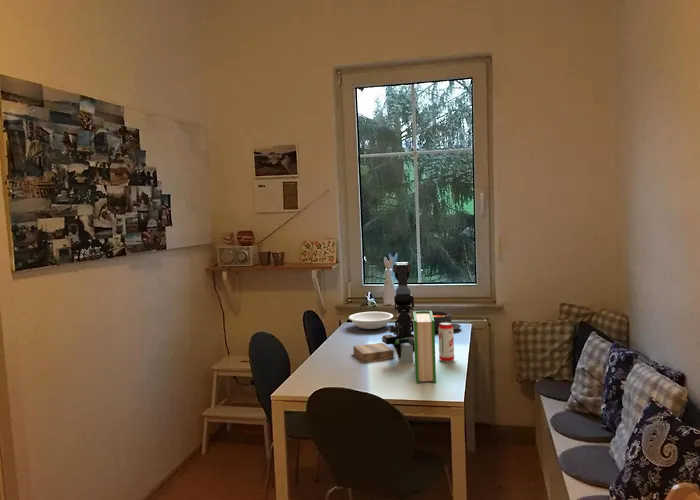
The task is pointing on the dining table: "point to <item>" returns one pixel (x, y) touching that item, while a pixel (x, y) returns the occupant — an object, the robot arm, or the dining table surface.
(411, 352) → the grey block
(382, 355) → the brown block
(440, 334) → the beer can
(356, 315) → the soup bowl
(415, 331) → the hardback book
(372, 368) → the dining table surface
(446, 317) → the casserole
